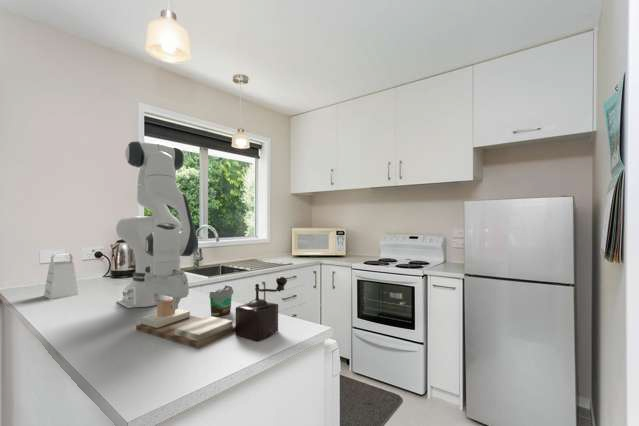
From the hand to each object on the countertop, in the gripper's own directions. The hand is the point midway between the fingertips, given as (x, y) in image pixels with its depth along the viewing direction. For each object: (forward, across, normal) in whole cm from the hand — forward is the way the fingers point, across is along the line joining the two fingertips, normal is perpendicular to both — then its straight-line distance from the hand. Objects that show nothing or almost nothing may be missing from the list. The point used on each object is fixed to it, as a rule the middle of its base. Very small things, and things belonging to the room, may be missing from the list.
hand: (165, 307), depth 109 cm
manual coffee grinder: (+6, -35, -12) cm, 37 cm away
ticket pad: (+6, -11, 0) cm, 13 cm away
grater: (+7, +81, -1) cm, 82 cm away
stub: (+5, 0, 0) cm, 5 cm away
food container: (+6, -10, -19) cm, 22 cm away
